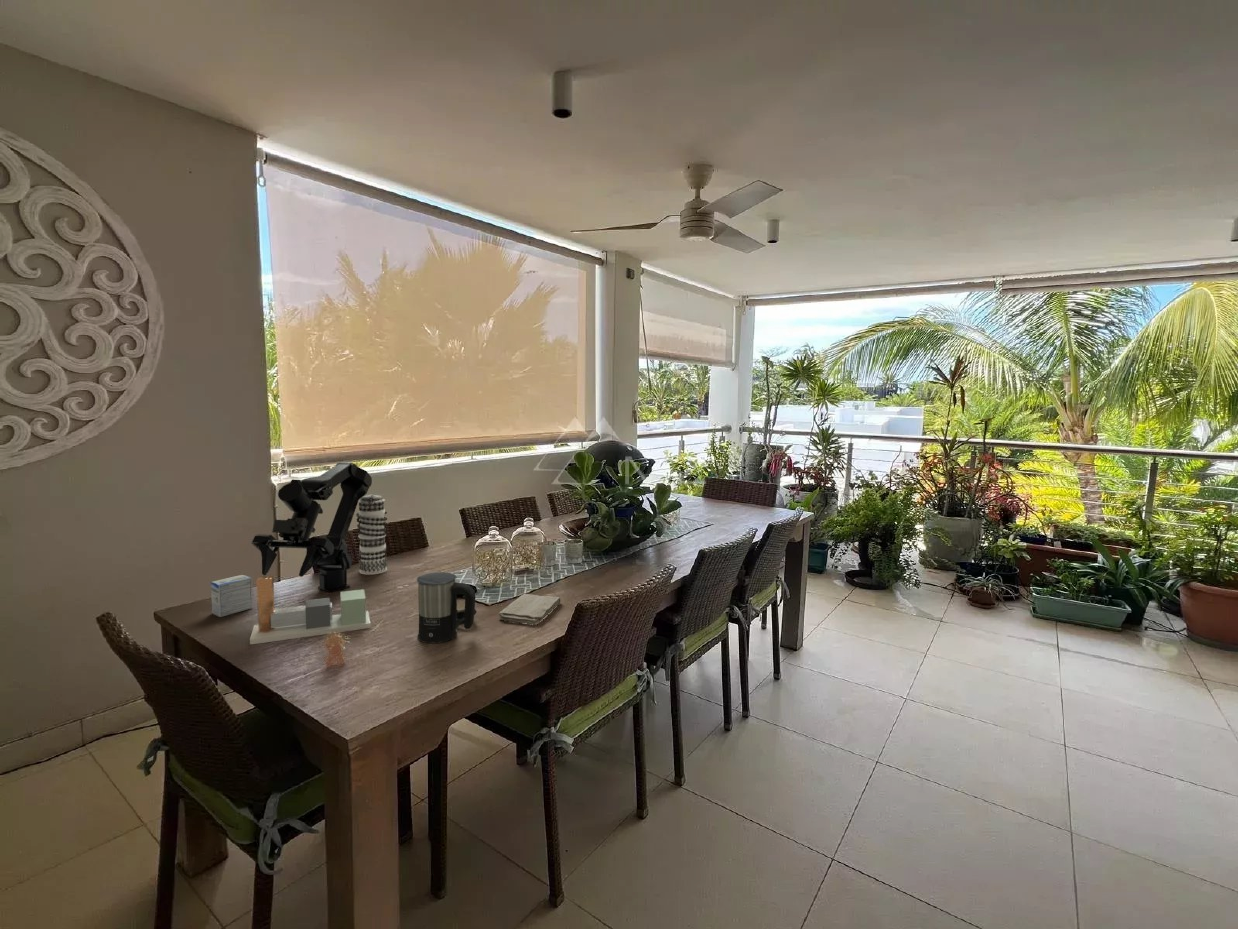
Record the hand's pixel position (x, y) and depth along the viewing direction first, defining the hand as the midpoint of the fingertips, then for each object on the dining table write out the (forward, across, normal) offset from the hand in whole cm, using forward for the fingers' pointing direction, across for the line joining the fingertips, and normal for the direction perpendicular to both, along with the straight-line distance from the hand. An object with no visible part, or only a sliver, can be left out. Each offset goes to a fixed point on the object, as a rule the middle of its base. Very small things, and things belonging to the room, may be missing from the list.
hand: (282, 575), depth 143 cm
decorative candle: (-19, +4, +41) cm, 45 cm away
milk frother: (+10, +42, +7) cm, 44 cm away
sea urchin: (+24, +24, -8) cm, 35 cm away
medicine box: (+6, -17, +12) cm, 22 cm away
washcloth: (+1, +61, +18) cm, 63 cm away
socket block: (+8, +17, +8) cm, 21 cm away
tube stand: (+11, +9, +5) cm, 16 cm away
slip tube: (+11, +6, +3) cm, 13 cm away
